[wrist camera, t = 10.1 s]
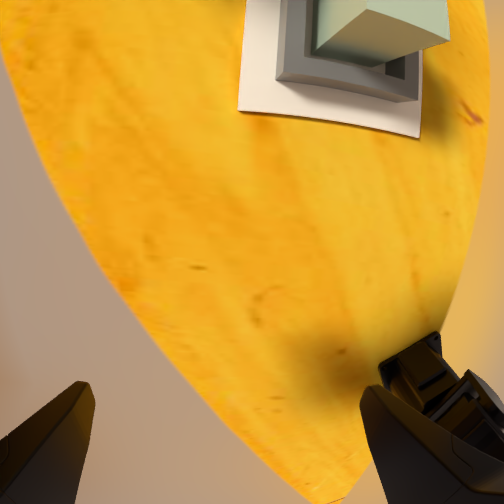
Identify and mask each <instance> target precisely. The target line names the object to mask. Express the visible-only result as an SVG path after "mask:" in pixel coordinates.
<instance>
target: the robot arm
mask: <svg viewBox="0 0 504 504" xmlns="http://www.w3.org/2000/svg"><path fill="white" fill-rule="evenodd" d="M383 367H384V368H383ZM378 370H379V373H380V377H381V380H382V383H383V387H382V386H381V385H379V384H373V385H368V386H366V388H365V390H364V393H363V395H362V398H361V400H360V405H359V406H360V411H361V416H362V420H363V424H364V429H365V433H366V438H367V442H368V445H369V448H370V451H371V454H372V457H373V460H374V463H375V465H376V469H377V472H378V475H379V477H380V480H381V483H382V486H383V489H384V492H385V495H386V498H387V501H388V504H504V405H503V403H502V401H501V400H500V398H499V397H498V395H497V394H496V393H495V392H494V391H493V390H492V389H491V388H490V387H489V385H488V384H487V383H486V382H485V381H484V380H482V379H481V378H480V377H478V376H477V375H476V374H474V373H473V372H472V371H470V370H469V369H468V370H467V371H466V372H465V373H464V376H463V377H462V378H461V379H460V378H459V377H458V376H457V374H456V373H455V372H454V371H453V370H452V369H451V367H450V366H449V365H448V364H447V363H446V361H445V360H444V359H443V358H442V346H441V335H440V334H439V333H438V332H437V331H435V332H433V333H431V334H430V335H428V336H427V337H425V338H423V339H422V340H420V341H418V342H417V343H415V344H413V345H412V346H410V347H408V348H407V349H405V350H403V351H401V352H400V353H398V354H396V355H394V356H393V357H391V358H389V359H387V360H385V361H384V362H382V363H380V364H379V366H378ZM94 410H95V398H94V395H93V393H92V390H91V387H90V384H89V383H87V382H83V381H76V382H75V383H73V384H72V385H71V386H69V387H68V388H67V389H66V390H64V391H63V392H62V393H60V394H59V395H58V396H57V397H55V398H54V399H53V400H51V401H50V402H49V403H47V404H46V405H45V406H44V407H42V408H41V409H40V410H39V411H37V412H36V413H35V414H33V415H32V416H31V417H29V418H28V419H27V420H26V421H24V422H23V423H22V424H20V425H19V426H18V427H17V428H15V429H14V430H13V431H11V432H10V433H9V434H8V436H7V435H6V436H5V437H4V438H2V439H1V440H0V504H75V500H76V495H77V490H78V486H79V482H80V478H81V473H82V470H83V465H84V462H85V458H86V454H87V450H88V446H89V441H90V435H91V428H92V421H93V416H94Z"/></svg>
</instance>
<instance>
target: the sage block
mask: <svg viewBox="0 0 504 504" xmlns="http://www.w3.org/2000/svg"><path fill="white" fill-rule="evenodd" d="M448 41H450V30H449V19H448V9H447V1H446V0H313V17H312V40H311V55H315V56H320V57H326V58H331V59H336V60H340V61H345V62H350V63H354V64H358V65H362V66H366V67H370V68H372V67H375V66H378V65H380V64H383V63H385V62H388V61H391V60H394V59H396V58H399V57H402V56H405V55H408V54H410V53H413V52H416V51H419V50H422V49H425V48H429V47H432V46H435V45H438V44H441V43H445V42H448Z"/></svg>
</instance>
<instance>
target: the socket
mask: <svg viewBox="0 0 504 504" xmlns="http://www.w3.org/2000/svg"><path fill="white" fill-rule="evenodd" d="M312 17H313V0H247V3H246V14H245V25H244V36H243V47H242V59H241V72H240V84H239V98H238V111H250V112H263V113H274V114H284V115H293V116H302V117H309V118H317V119H324V120H330V121H337V122H343V123H349V124H354V125H360V126H365V127H370V128H375V129H380V130H385V131H390V132H394V133H398V134H403V135H407V136H411V137H415V138H419V134H420V121H421V105H422V71H423V60H422V50H419V51H416V52H413V53H410V54H408V55H405V56H402V57H399V58H396V59H394V60H391V61H388V62H385V63H383V64H380V65H378V66H375V67H372V68H370V67H366V66H362V65H358V64H354V63H350V62H345V61H340V60H336V59H331V58H326V57H320V56H315V55H311V40H312Z"/></svg>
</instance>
